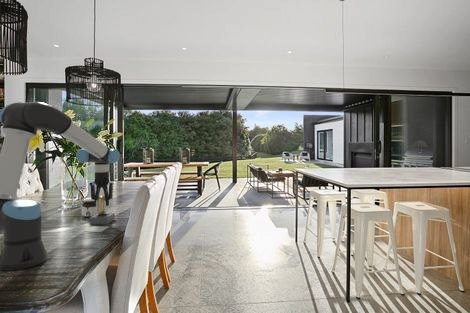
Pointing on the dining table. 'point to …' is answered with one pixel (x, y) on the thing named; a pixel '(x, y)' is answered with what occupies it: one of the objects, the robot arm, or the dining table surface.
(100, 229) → the mat
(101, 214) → the plug
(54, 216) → the dining table surface
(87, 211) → the spread jar
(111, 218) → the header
